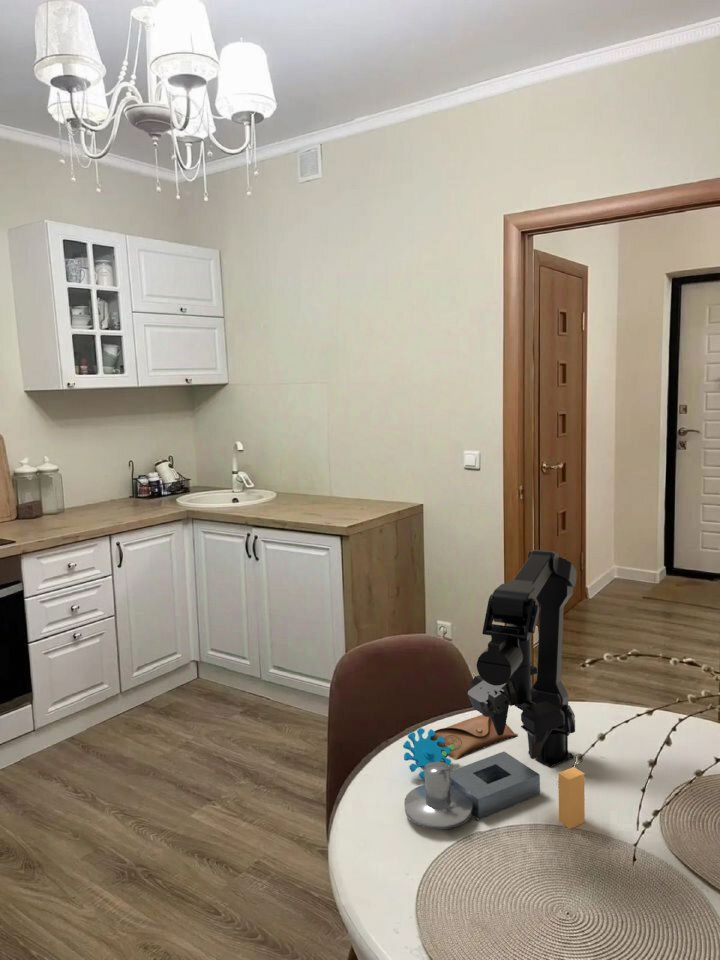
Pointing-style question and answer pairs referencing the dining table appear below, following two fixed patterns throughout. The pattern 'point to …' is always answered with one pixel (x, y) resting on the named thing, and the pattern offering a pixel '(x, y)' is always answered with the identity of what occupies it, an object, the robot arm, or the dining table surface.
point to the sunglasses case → (471, 736)
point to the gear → (426, 751)
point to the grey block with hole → (470, 791)
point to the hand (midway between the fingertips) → (516, 746)
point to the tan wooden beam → (571, 797)
